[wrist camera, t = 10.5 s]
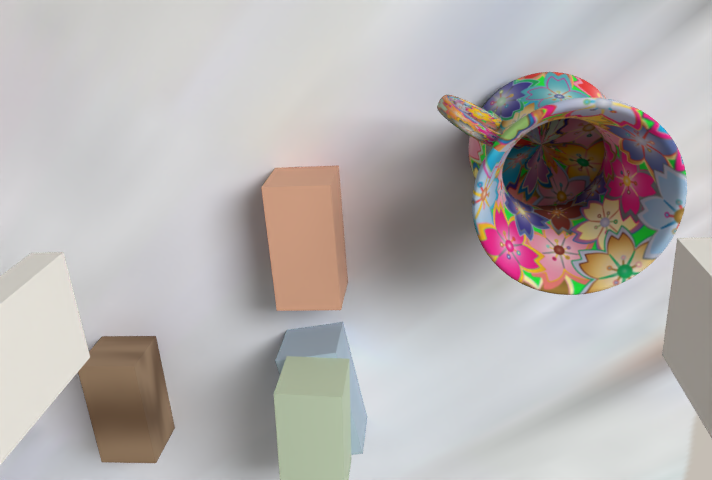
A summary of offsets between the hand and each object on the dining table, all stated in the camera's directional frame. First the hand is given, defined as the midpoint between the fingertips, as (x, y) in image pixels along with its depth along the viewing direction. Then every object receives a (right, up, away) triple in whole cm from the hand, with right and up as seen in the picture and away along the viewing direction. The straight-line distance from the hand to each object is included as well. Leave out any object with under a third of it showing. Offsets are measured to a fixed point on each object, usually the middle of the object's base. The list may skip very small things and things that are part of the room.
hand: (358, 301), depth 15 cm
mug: (+10, +8, +25) cm, 28 cm away
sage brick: (-2, -10, +29) cm, 31 cm away
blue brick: (-2, -8, +33) cm, 34 cm away
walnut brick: (-16, -9, +35) cm, 39 cm away
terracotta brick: (-3, +2, +29) cm, 29 cm away
